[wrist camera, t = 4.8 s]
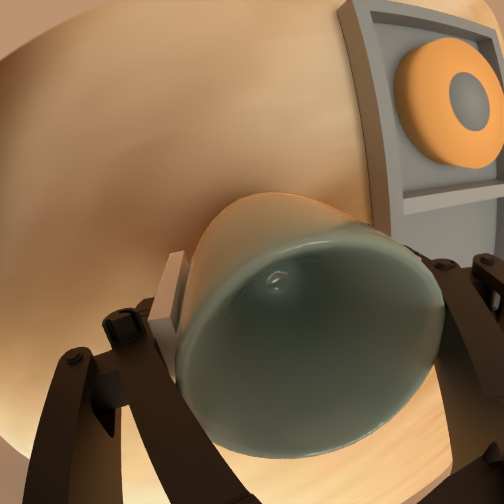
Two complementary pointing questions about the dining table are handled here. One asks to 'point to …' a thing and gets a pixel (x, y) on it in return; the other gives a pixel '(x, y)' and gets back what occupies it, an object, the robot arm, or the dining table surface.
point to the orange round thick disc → (450, 103)
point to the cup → (301, 328)
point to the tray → (401, 148)
